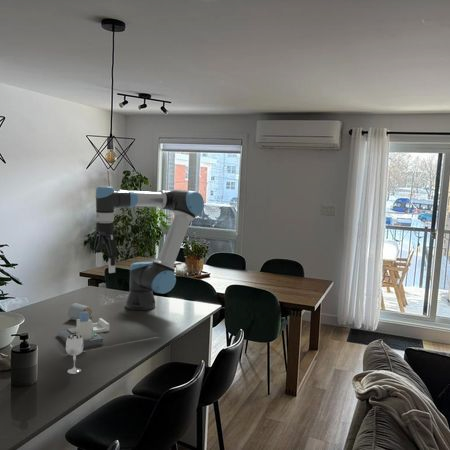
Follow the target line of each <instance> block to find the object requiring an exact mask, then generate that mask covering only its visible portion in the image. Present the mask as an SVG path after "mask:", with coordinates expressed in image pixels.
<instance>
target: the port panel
mask: <svg viewBox="0 0 450 450" xmlns="http://www.w3.org/2000/svg"><path fill="white" fill-rule="evenodd" d="M70 335H76V326H74V327H73V326H72V327H67V328H66V327H65V328H60V329H57V336H58V337H59V338H60V339H61V340H62V341H63V343H65V344H66V341H67V338H68V336H70ZM83 344H84V347H83V349H86V348H90V347H97V346H102V345H104V338H103V336H101V335H100V334H98V333H96V332H95V331H93V330H92V339H89V340H83Z"/></svg>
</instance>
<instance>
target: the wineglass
mask: <svg viewBox="0 0 450 450" xmlns="http://www.w3.org/2000/svg"><path fill="white" fill-rule="evenodd" d="M83 347H84V344H83V338H82V336H81V335H70V336H68V338H67V341H66V343H65V351H66V353H67V354H68V355H69V356H72V361H73V367H72V368H69V369H67V373H68V374H70V375H71V374H72V375H73V374H74V375H75V374H79V373H81V372H82V369H81V368H78V367H76V360H77V356H78V355H80V354H82V352H83V351H84V348H83Z"/></svg>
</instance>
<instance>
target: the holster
mask: <svg viewBox="0 0 450 450" xmlns="http://www.w3.org/2000/svg"><path fill="white" fill-rule="evenodd" d="M92 330H93V331H95V332H96V333H97V334H98V333H104V332H109V331H110V323H109V322H107V320H105V319H103V318H102V317H99V318H98V322H92Z"/></svg>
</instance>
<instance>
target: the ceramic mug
mask: <svg viewBox="0 0 450 450" xmlns="http://www.w3.org/2000/svg"><path fill="white" fill-rule="evenodd" d="M80 312H89V319H90V320H91V318H92V317H93V313H92V308H91V307H90V306H88V305H85V304H80V303H76V302H74V303H72V304H71V305H70V307H69V308H68V312H67V315H68V316H67V317H68V319H69V320H72V321H75V322H77V319H80Z"/></svg>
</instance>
